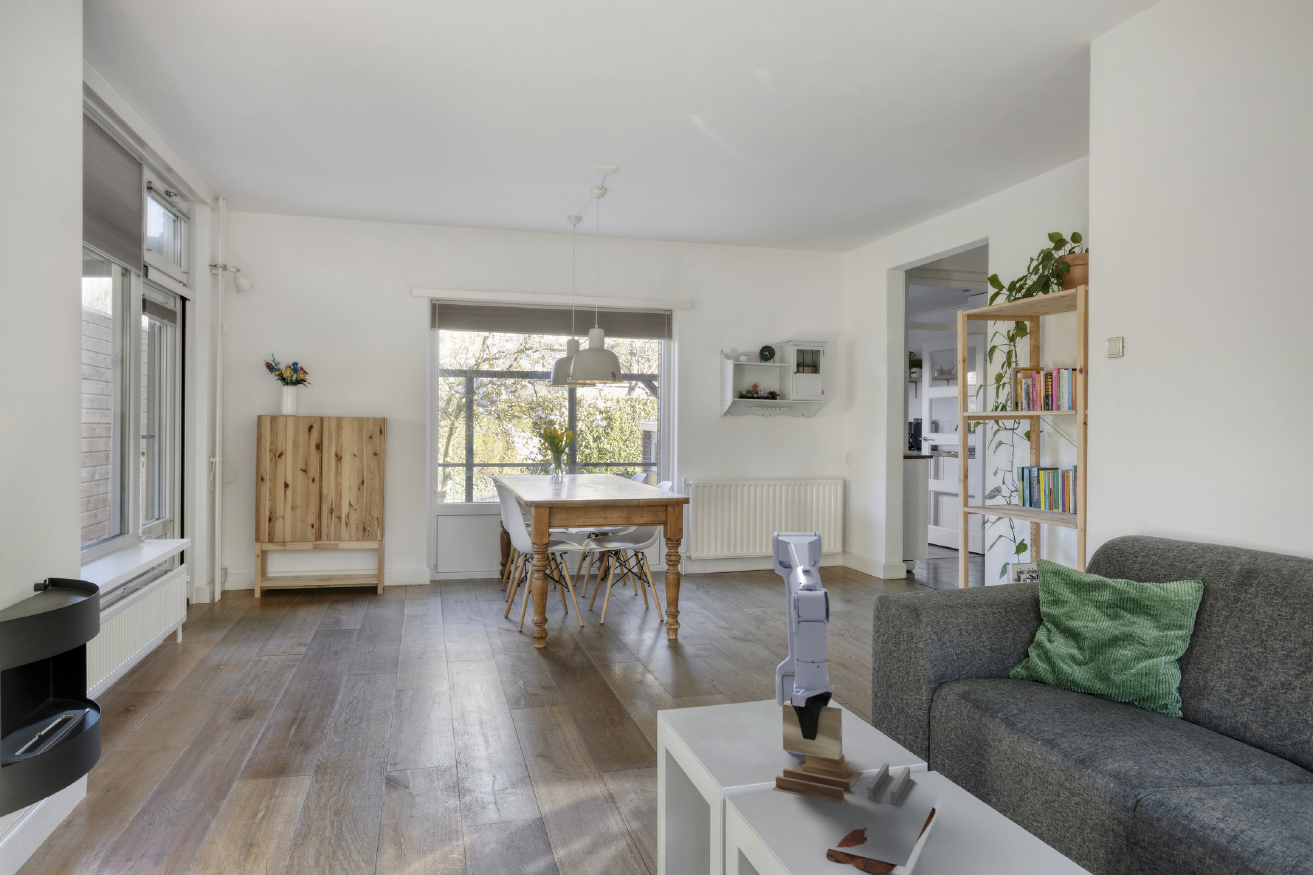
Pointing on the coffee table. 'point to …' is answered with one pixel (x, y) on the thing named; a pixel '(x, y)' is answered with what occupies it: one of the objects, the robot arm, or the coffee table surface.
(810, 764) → the offcut stack
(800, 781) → the walnut rack
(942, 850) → the coffee table surface
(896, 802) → the grey channel block
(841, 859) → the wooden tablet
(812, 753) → the birch panel
